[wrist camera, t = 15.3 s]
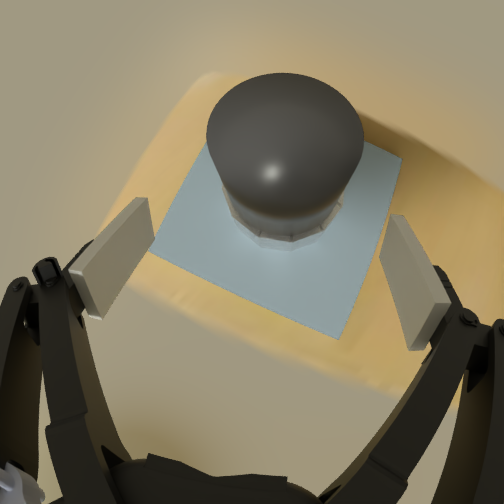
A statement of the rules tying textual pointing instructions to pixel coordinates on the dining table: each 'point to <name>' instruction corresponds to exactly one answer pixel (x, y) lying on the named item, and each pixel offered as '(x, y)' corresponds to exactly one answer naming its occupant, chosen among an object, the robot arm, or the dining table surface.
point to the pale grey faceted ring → (283, 241)
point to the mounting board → (280, 262)
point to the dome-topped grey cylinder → (284, 150)
